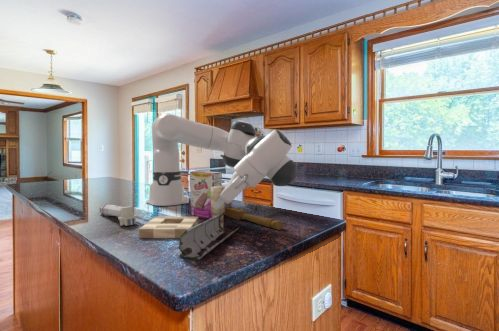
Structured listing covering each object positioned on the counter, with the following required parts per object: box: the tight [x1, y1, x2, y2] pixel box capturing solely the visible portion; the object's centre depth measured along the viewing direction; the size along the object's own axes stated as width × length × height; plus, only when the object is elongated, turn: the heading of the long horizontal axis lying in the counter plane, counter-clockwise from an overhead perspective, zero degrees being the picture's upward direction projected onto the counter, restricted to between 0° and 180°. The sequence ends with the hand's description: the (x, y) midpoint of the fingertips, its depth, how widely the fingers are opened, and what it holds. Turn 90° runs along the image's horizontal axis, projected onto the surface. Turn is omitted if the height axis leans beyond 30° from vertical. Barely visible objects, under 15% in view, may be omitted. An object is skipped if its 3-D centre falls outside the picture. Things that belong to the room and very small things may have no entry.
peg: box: [211, 186, 226, 229], centre depth 94 cm, size 4×4×13 cm
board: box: [138, 216, 199, 239], centre depth 93 cm, size 15×14×2 cm
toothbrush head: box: [99, 203, 137, 227], centre depth 107 cm, size 5×7×25 cm
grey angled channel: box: [178, 212, 240, 261], centre depth 81 cm, size 7×7×25 cm
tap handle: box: [223, 206, 284, 231], centre depth 105 cm, size 3×3×30 cm
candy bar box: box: [189, 170, 223, 220], centre depth 110 cm, size 11×5×16 cm, turn 57°
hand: (215, 205), depth 94 cm, fingers closed on peg, 4 cm apart
